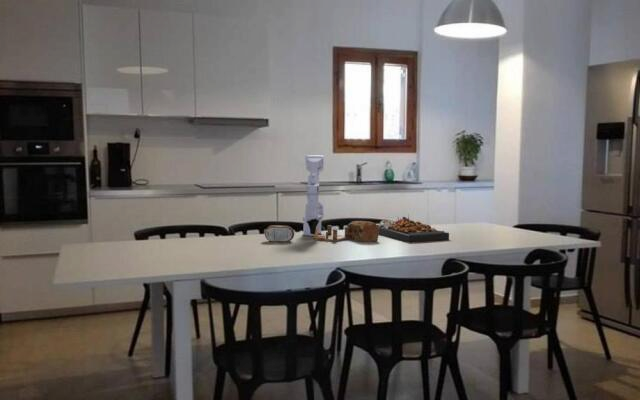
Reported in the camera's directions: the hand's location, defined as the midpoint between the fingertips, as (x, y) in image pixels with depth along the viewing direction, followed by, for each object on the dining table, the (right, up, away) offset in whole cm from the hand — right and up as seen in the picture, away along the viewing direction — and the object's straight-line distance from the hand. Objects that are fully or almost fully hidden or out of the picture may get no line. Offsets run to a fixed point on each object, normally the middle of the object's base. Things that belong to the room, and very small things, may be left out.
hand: (312, 233), depth 285 cm
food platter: (+51, -3, +20) cm, 55 cm away
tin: (-17, -4, -3) cm, 18 cm away
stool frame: (+10, -3, +5) cm, 12 cm away
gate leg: (+3, -2, +1) cm, 4 cm away
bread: (+26, -4, +5) cm, 27 cm away
